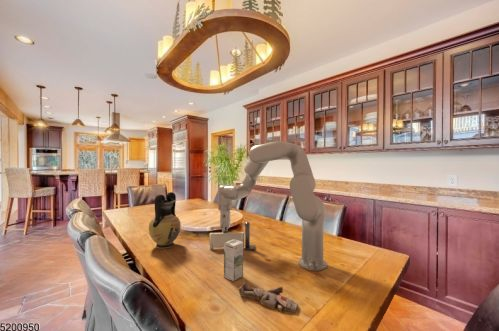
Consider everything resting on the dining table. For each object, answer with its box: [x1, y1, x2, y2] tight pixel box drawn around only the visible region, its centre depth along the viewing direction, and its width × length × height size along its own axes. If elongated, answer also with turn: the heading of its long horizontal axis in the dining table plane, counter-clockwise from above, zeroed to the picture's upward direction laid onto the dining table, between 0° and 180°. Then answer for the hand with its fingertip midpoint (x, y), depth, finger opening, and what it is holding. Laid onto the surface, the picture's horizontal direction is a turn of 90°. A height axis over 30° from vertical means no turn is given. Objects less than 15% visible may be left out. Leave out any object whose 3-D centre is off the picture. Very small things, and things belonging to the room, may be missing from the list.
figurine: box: [238, 281, 299, 314], centre depth 77 cm, size 7×5×20 cm
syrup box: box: [223, 239, 244, 282], centre depth 93 cm, size 6×6×14 cm
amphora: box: [148, 191, 182, 250], centre depth 128 cm, size 18×17×30 cm
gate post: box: [244, 221, 256, 251], centre depth 123 cm, size 5×5×15 cm
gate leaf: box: [209, 231, 245, 250], centre depth 123 cm, size 2×19×8 cm, turn 94°
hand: (224, 239), depth 127 cm, fingers closed
